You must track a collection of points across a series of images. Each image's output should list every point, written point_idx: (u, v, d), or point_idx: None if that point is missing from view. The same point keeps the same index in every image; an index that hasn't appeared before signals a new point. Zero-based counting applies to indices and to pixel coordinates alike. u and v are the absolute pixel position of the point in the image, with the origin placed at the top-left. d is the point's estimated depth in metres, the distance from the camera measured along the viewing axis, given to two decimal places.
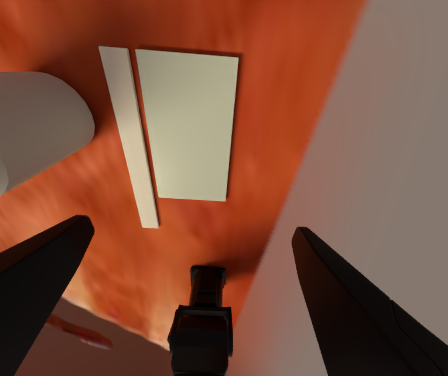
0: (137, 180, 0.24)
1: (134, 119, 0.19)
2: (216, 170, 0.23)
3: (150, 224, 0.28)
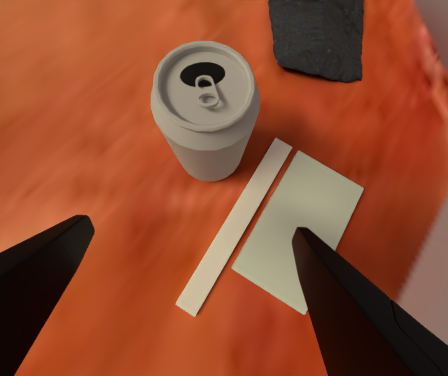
0: (224, 236, 0.21)
1: (265, 185, 0.22)
2: None
3: (189, 304, 0.19)
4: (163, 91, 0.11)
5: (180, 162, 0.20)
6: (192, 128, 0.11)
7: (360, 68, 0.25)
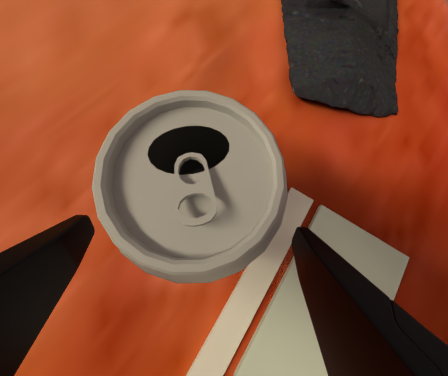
0: (224, 329, 0.15)
1: (279, 254, 0.17)
2: None
3: None
4: (115, 183, 0.06)
5: None
6: (163, 270, 0.05)
7: (396, 100, 0.20)
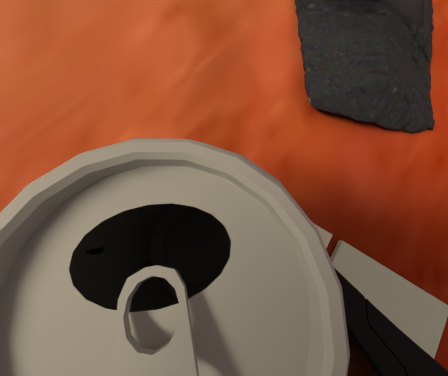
0: None
1: None
2: None
3: None
4: None
5: (147, 284, 0.11)
6: None
7: (431, 112, 0.17)
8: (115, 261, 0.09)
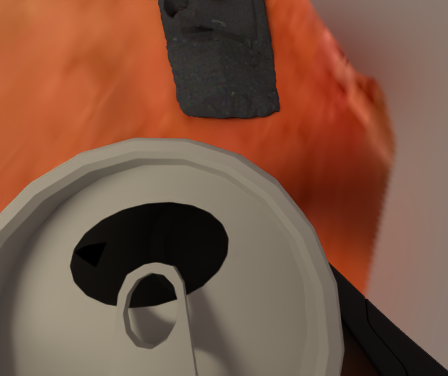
0: None
1: None
2: None
3: None
4: None
5: (147, 283, 0.11)
6: None
7: (276, 99, 0.24)
8: (115, 260, 0.09)
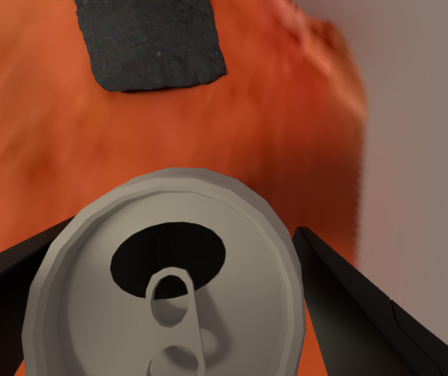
0: None
1: None
2: None
3: None
4: (61, 314, 0.04)
5: None
6: None
7: (220, 60, 0.20)
8: (128, 260, 0.10)
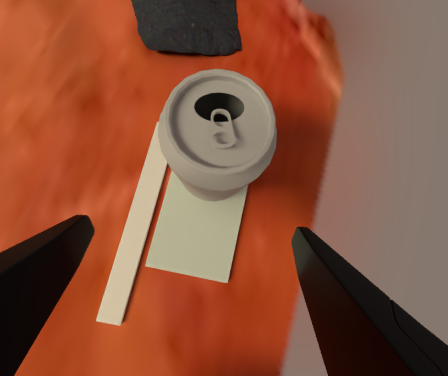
0: (129, 238, 0.20)
1: (159, 173, 0.21)
2: (224, 237, 0.21)
3: (111, 315, 0.19)
4: (173, 121, 0.10)
5: None
6: (202, 170, 0.10)
7: (237, 38, 0.25)
8: None
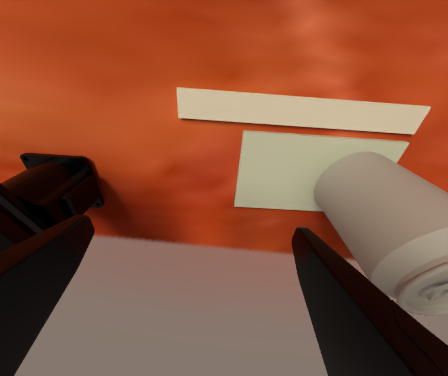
0: (274, 105, 0.16)
1: (353, 124, 0.17)
2: (274, 199, 0.22)
3: (185, 105, 0.16)
4: None
5: (350, 167, 0.16)
6: (412, 285, 0.10)
7: None
8: None
